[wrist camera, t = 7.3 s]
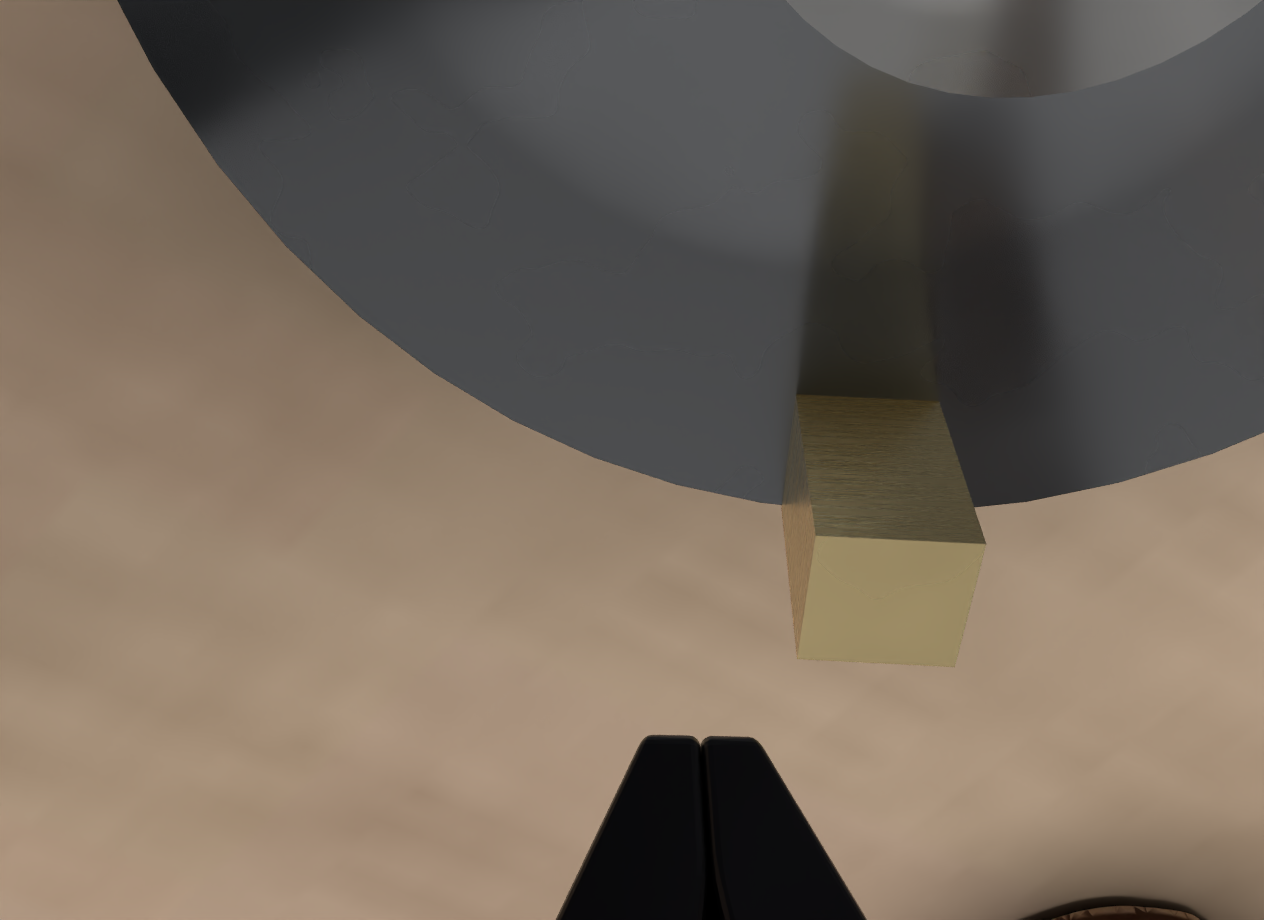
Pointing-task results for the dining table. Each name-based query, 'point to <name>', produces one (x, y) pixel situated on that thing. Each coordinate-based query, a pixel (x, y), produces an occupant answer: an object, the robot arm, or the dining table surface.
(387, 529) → the dining table surface
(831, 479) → the turntable
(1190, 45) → the cover
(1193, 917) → the coffee cup
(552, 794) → the dining table surface
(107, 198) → the dining table surface
